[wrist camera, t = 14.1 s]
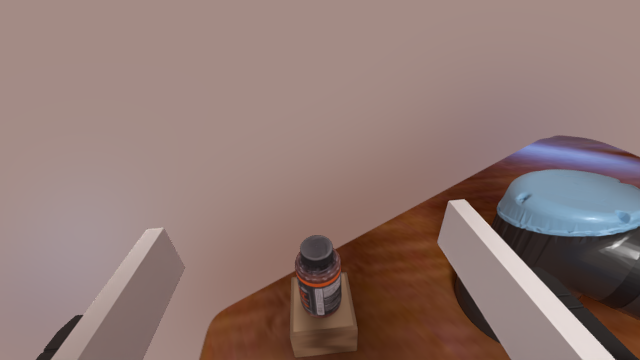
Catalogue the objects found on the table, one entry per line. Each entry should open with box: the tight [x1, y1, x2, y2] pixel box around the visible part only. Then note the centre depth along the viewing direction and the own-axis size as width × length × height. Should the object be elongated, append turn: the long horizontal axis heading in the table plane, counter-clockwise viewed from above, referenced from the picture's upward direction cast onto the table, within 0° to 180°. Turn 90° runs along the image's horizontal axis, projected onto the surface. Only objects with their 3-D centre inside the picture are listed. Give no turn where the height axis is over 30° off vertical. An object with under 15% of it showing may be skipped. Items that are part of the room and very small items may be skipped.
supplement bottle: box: [295, 235, 342, 318], centre depth 33 cm, size 6×6×11 cm
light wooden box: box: [290, 272, 358, 358], centre depth 38 cm, size 9×9×6 cm
